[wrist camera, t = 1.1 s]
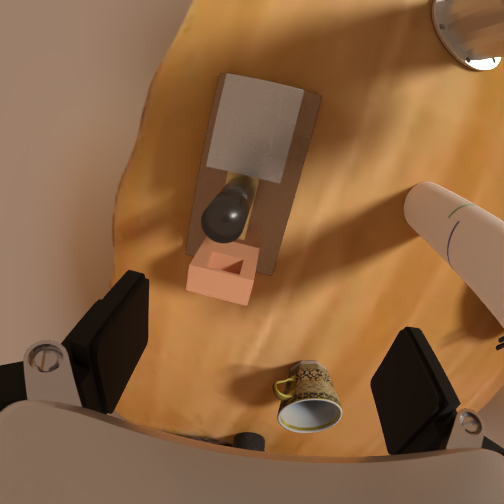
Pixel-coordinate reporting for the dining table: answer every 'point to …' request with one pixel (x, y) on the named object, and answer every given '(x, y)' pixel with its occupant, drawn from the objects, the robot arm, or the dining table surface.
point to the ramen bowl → (500, 344)
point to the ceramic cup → (308, 399)
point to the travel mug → (249, 441)
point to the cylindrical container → (461, 239)
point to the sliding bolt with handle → (230, 209)
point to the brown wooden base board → (255, 156)
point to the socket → (223, 271)
